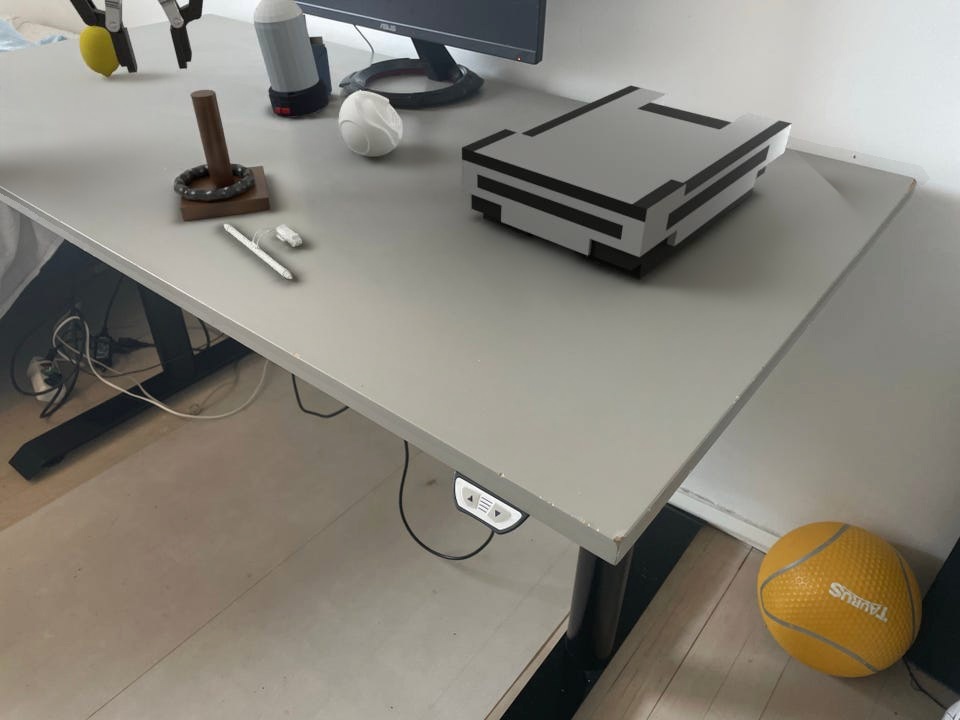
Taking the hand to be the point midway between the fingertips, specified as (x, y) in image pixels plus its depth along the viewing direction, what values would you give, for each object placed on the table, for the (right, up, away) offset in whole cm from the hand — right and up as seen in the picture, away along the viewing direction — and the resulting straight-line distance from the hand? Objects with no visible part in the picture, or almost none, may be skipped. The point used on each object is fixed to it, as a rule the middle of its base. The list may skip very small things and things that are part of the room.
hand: (158, 67), depth 70 cm
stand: (+3, -11, +10) cm, 15 cm away
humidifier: (+6, +8, +33) cm, 35 cm away
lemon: (-28, +17, +45) cm, 56 cm away
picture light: (+11, -18, +1) cm, 21 cm away
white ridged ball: (+18, -3, +20) cm, 27 cm away
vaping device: (+7, +10, +36) cm, 38 cm away
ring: (+3, -9, +8) cm, 12 cm away
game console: (+48, -11, +10) cm, 50 cm away
